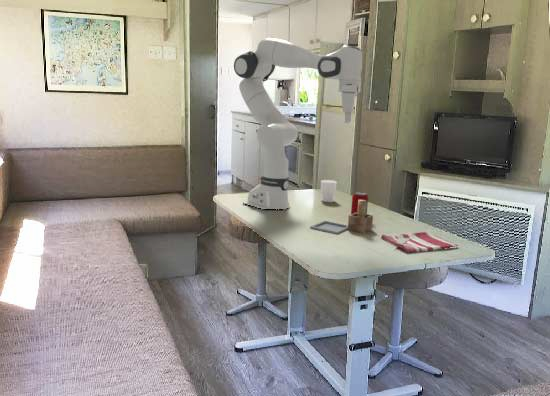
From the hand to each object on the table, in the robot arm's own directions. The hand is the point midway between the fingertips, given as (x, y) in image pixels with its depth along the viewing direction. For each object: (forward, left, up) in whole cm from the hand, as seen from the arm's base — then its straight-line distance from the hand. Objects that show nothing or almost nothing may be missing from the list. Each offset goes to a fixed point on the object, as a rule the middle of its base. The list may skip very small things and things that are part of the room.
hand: (347, 122), depth 206 cm
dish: (+2, -13, -42) cm, 44 cm away
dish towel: (+36, -7, -43) cm, 57 cm away
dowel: (+12, -7, -41) cm, 44 cm away
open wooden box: (+12, -7, -42) cm, 44 cm away
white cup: (-24, +33, -42) cm, 59 cm away
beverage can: (+4, +9, -42) cm, 43 cm away
